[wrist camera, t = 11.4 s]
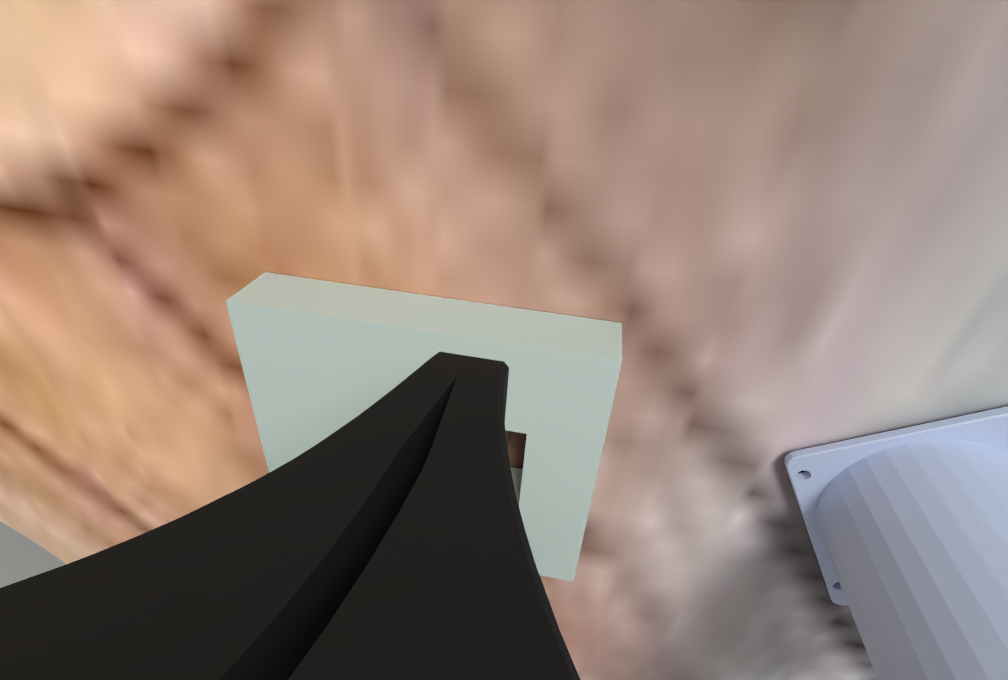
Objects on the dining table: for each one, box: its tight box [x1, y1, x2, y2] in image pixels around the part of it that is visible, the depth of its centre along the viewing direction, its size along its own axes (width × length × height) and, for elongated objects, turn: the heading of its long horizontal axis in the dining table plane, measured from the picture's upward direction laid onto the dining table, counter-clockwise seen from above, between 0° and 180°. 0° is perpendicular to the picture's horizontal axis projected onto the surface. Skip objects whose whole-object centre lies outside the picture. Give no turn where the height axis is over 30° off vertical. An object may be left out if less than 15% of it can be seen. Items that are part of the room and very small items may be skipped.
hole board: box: [226, 272, 622, 582], centre depth 22 cm, size 14×12×2 cm
